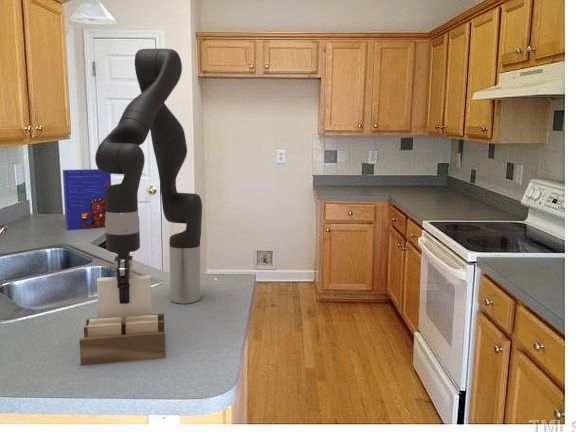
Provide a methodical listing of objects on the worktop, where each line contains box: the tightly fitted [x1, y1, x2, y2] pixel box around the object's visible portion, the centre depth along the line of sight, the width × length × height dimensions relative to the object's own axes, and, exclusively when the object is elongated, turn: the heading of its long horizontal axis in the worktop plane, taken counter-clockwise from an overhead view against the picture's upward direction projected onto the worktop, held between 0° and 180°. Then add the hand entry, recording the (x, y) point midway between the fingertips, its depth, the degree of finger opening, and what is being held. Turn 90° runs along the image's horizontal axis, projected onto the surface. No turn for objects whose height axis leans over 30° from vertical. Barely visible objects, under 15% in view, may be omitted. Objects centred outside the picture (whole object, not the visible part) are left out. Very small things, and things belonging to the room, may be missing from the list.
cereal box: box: [62, 168, 112, 231], centre depth 259 cm, size 22×6×30 cm, turn 122°
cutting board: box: [96, 274, 153, 323], centre depth 121 cm, size 2×12×16 cm, turn 105°
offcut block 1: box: [87, 317, 123, 338], centre depth 115 cm, size 4×7×8 cm, turn 105°
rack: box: [79, 313, 166, 366], centre depth 118 cm, size 13×18×7 cm
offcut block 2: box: [126, 315, 158, 335], centre depth 117 cm, size 4×7×8 cm, turn 105°
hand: (125, 300), depth 120 cm, fingers closed on cutting board, 2 cm apart
